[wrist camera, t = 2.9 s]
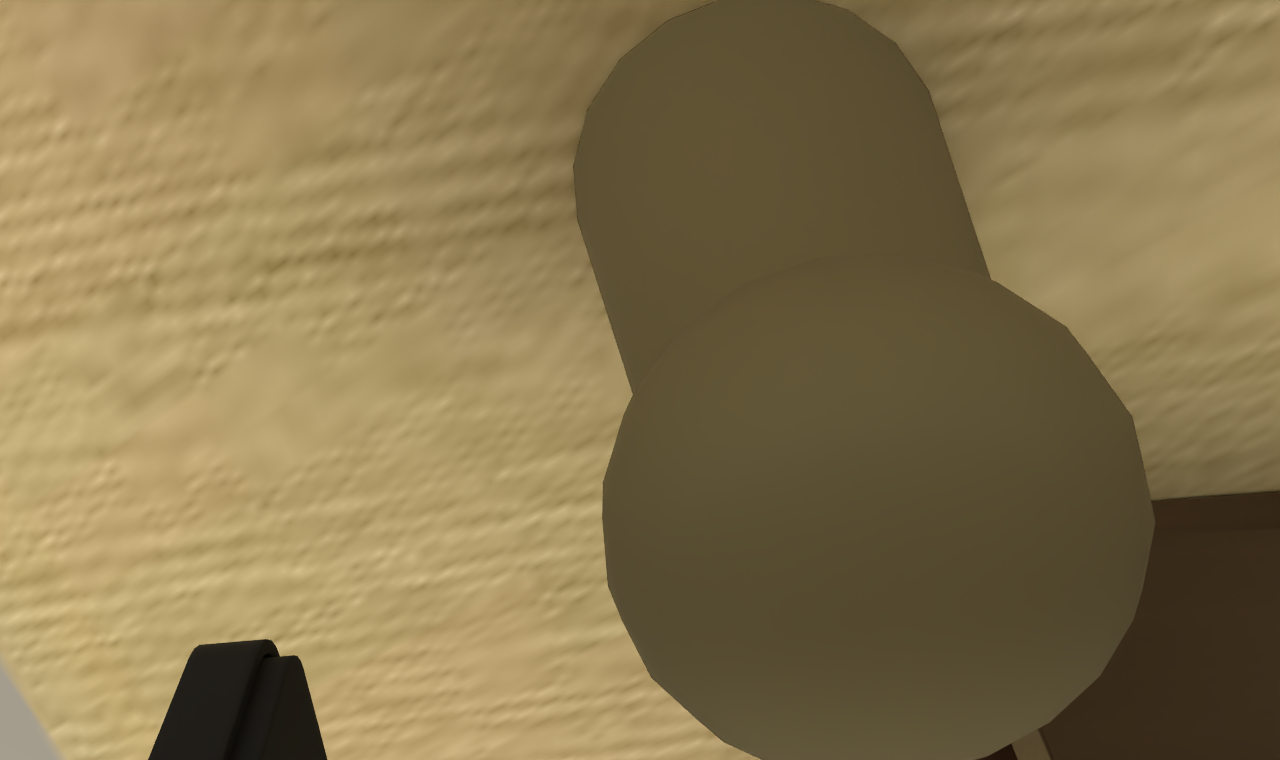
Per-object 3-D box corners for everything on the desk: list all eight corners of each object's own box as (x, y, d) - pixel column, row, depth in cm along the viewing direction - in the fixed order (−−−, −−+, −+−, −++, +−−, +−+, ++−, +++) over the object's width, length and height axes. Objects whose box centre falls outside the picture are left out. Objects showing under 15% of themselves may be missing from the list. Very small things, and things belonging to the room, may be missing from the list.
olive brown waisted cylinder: (559, 332, 21) (531, 864, 12) (589, -26, 18) (582, 294, 9) (900, 359, 22) (1140, 891, 12) (983, 13, 19) (1384, 360, 9)
